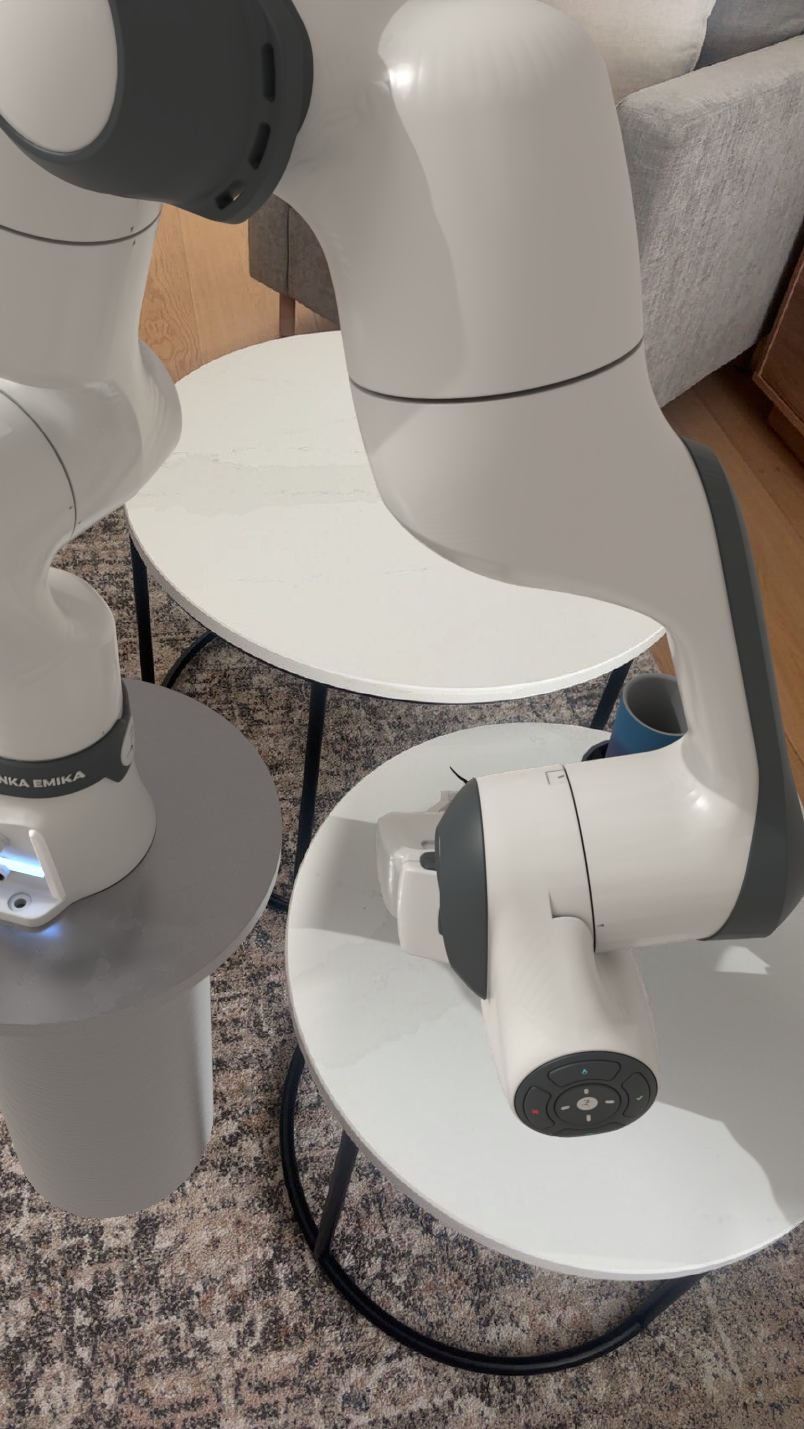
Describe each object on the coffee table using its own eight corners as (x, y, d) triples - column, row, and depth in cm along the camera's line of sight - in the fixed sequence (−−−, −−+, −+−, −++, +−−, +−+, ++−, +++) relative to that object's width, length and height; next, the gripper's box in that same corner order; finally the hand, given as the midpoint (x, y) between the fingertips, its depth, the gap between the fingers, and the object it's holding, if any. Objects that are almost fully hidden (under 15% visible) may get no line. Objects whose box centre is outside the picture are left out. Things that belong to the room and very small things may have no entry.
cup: (639, 868, 91) (693, 749, 81) (566, 832, 93) (609, 710, 82) (666, 816, 96) (721, 696, 85) (595, 782, 98) (640, 660, 87)
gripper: (718, 866, 65) (663, 761, 78) (376, 866, 65) (376, 759, 77) (704, 952, 68) (653, 837, 80) (376, 952, 67) (376, 836, 80)
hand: (515, 799), depth 79 cm, fingers open, 8 cm apart
